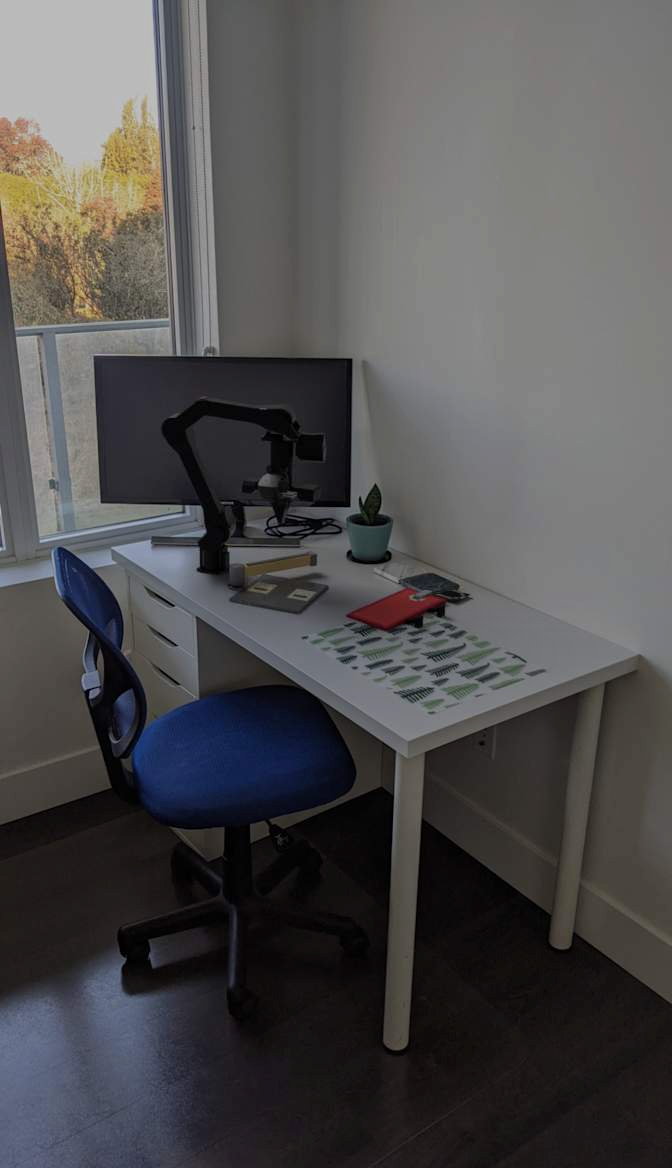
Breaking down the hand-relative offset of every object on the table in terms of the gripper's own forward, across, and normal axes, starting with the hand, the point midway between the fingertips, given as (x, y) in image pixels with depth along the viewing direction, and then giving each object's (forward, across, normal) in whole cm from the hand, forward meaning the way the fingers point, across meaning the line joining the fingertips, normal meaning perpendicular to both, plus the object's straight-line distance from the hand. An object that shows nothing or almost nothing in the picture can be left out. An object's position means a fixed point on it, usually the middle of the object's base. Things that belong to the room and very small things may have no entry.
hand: (280, 523), depth 219 cm
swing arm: (+12, 0, -4) cm, 13 cm away
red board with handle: (+14, +36, -6) cm, 39 cm away
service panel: (+13, +3, -12) cm, 18 cm away
